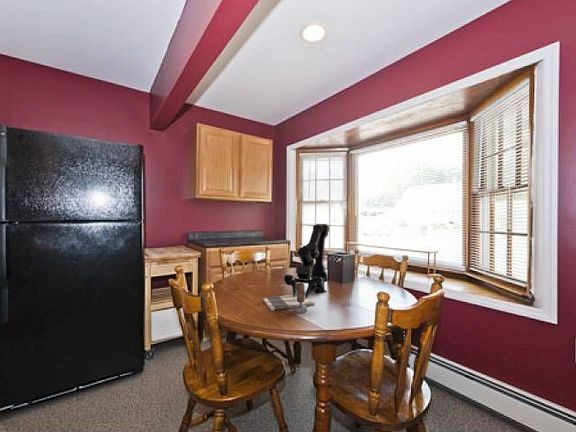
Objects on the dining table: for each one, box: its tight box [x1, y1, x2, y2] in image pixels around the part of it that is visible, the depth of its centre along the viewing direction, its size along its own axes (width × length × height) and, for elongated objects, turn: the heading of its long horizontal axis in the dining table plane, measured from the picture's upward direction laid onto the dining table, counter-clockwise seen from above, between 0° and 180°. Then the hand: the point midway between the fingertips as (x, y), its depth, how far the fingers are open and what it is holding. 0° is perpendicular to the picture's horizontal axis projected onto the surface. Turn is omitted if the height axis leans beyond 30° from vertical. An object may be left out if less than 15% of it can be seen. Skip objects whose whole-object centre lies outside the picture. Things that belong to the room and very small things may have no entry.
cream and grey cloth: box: [262, 293, 315, 312], centre depth 142 cm, size 16×22×1 cm
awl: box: [294, 282, 308, 314], centre depth 130 cm, size 6×6×12 cm
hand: (299, 297), depth 129 cm, fingers open, 5 cm apart
